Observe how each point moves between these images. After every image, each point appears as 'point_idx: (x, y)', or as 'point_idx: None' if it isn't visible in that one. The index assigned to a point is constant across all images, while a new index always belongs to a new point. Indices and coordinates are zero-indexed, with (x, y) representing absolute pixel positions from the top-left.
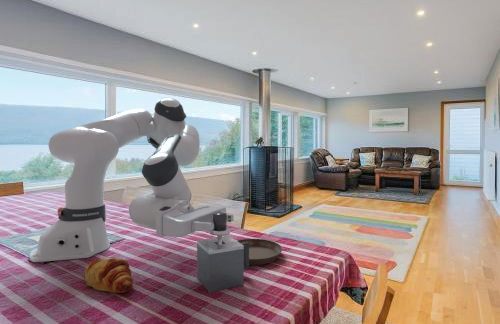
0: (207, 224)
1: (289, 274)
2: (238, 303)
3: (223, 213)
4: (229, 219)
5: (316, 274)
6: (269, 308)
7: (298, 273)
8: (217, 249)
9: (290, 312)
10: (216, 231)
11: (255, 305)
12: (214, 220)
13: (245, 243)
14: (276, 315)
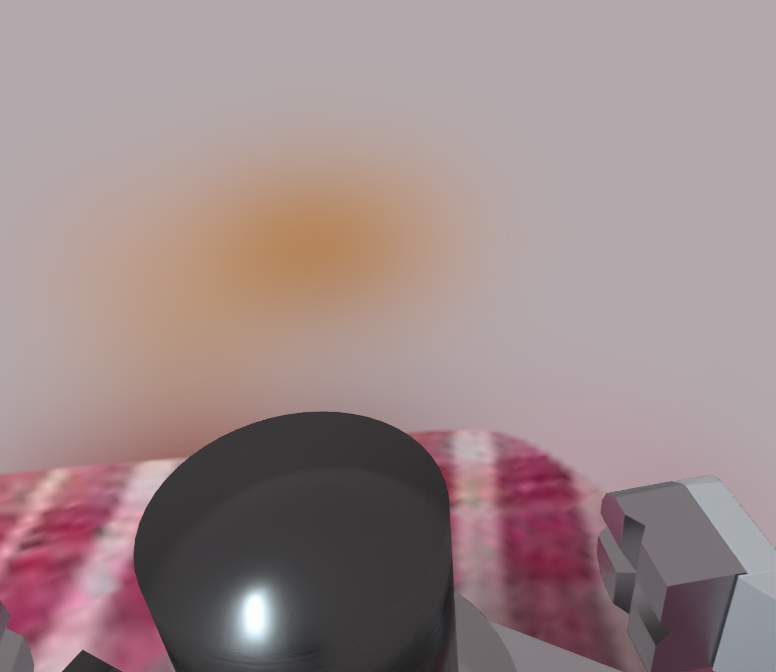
0: (738, 519)
1: (50, 610)
2: (563, 625)
3: (242, 471)
4: (6, 666)
5: (15, 509)
6: (483, 497)
7: (21, 579)
8: (572, 663)
9: (449, 434)
10: (472, 665)
11: (509, 551)
12: (454, 605)
13: (112, 669)
14: (508, 455)
